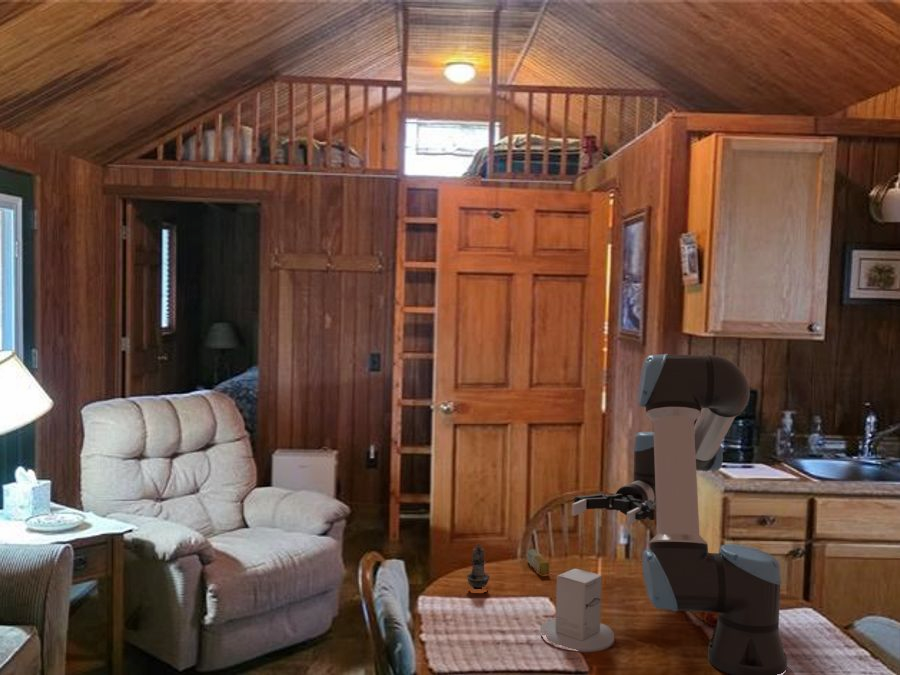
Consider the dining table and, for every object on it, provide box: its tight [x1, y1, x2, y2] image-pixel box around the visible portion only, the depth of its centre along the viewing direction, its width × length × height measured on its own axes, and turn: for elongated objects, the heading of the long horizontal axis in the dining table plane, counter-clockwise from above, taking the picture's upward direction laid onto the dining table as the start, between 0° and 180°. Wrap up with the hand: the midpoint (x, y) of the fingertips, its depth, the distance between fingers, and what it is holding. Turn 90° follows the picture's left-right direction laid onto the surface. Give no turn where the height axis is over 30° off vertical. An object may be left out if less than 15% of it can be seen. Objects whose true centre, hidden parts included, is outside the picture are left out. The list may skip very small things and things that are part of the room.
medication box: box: [526, 548, 550, 575], centre depth 219 cm, size 12×3×4 cm, turn 12°
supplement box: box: [555, 568, 603, 641], centre depth 174 cm, size 7×7×13 cm
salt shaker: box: [466, 543, 490, 589], centre depth 201 cm, size 6×6×12 cm
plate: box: [540, 618, 615, 653], centre depth 174 cm, size 16×16×1 cm
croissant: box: [692, 611, 718, 627], centre depth 189 cm, size 21×10×8 cm, turn 169°
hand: (600, 514), depth 184 cm, fingers open, 13 cm apart
